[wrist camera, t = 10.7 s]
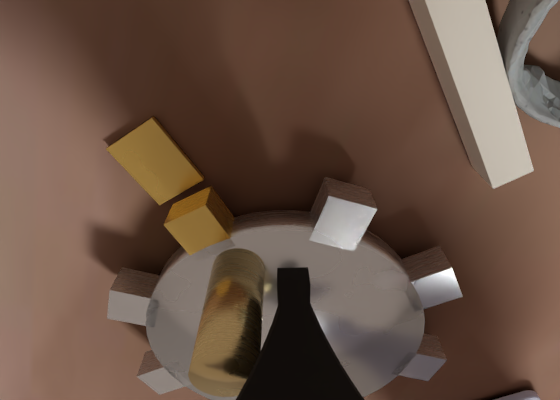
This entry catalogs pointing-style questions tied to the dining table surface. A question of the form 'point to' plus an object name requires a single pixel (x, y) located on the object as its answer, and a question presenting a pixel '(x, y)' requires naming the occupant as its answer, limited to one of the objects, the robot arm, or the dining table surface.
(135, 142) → the yellow wooden brick
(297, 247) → the sprocket
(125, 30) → the dining table surface
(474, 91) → the bay
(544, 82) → the ceramic mug
